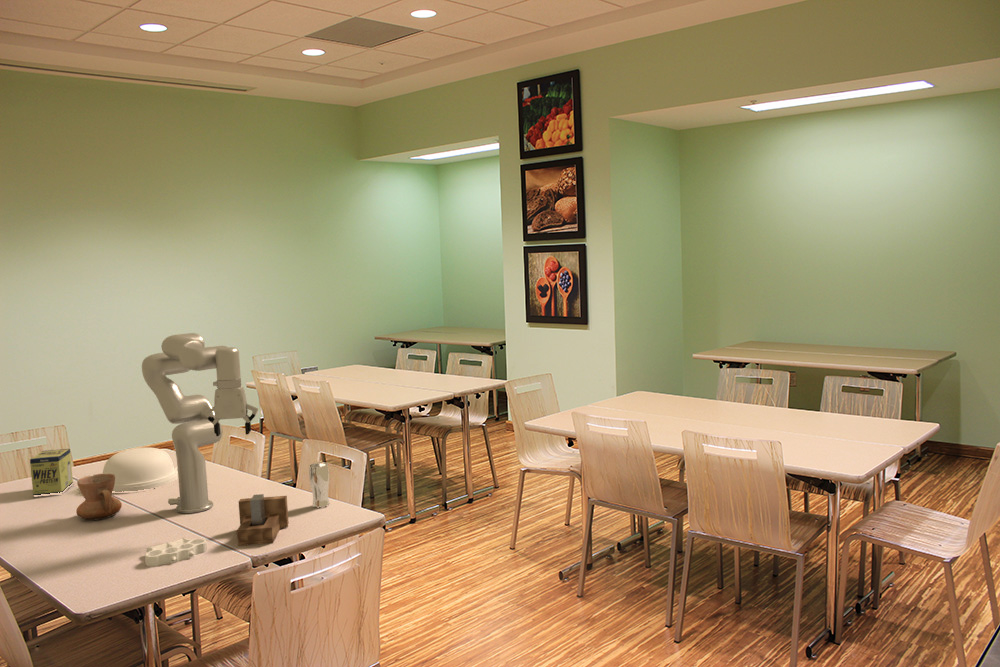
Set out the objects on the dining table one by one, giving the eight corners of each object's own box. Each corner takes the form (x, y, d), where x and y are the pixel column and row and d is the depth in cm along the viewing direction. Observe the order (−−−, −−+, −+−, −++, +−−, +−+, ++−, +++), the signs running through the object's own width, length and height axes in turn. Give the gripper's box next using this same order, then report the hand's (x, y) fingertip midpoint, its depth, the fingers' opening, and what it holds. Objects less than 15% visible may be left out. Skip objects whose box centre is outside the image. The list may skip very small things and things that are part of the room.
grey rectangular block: (252, 537, 249) (250, 500, 248) (256, 530, 255) (254, 494, 254) (262, 536, 249) (259, 499, 248) (266, 530, 255) (263, 494, 254)
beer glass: (334, 503, 285) (332, 462, 283) (324, 509, 278) (321, 467, 277) (317, 502, 287) (315, 461, 286) (307, 508, 280) (304, 466, 279)
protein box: (33, 498, 308) (29, 459, 306) (45, 487, 323) (42, 450, 321) (62, 495, 310) (58, 456, 309) (73, 484, 325) (70, 448, 324)
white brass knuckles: (194, 543, 250) (214, 554, 240) (135, 559, 238) (153, 571, 227) (194, 532, 250) (213, 543, 239) (135, 548, 238) (152, 560, 227)
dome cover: (167, 469, 345) (164, 437, 344) (191, 482, 323) (189, 448, 322) (87, 485, 325) (84, 451, 323) (108, 499, 302) (104, 464, 301)
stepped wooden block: (230, 546, 244) (228, 515, 244) (242, 528, 261) (240, 498, 260) (280, 542, 246) (278, 511, 245) (288, 524, 263) (286, 495, 262)
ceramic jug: (70, 516, 282) (66, 478, 280) (112, 506, 292) (109, 469, 290) (87, 528, 269) (83, 488, 267) (131, 517, 279) (127, 478, 278)
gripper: (199, 387, 259) (203, 438, 261) (253, 384, 261) (257, 435, 262) (205, 384, 266) (209, 433, 268) (258, 381, 268) (261, 430, 270)
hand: (233, 434), depth 265 cm, fingers open, 9 cm apart
